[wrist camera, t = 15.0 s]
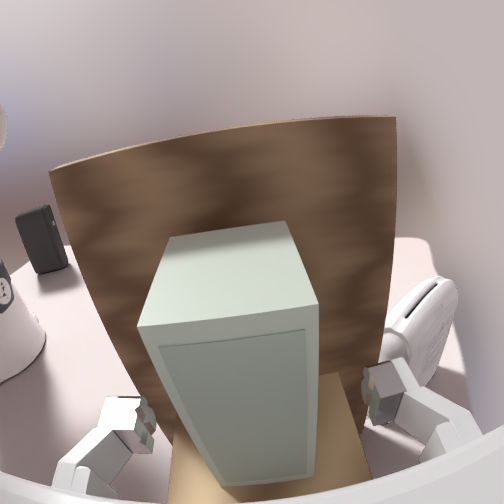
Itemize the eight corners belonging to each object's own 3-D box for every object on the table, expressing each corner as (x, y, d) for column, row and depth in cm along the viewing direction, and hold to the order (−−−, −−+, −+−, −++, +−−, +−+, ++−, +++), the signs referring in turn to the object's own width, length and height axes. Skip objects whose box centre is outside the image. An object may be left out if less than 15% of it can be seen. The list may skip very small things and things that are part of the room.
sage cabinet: (220, 487, 14) (136, 327, 8) (220, 405, 19) (169, 237, 14) (313, 477, 14) (318, 304, 8) (297, 396, 19) (285, 220, 14)
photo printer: (411, 352, 33) (430, 258, 27) (440, 369, 29) (469, 274, 24) (354, 409, 28) (368, 312, 22) (387, 432, 24) (417, 338, 19)
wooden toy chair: (173, 550, 16) (-100, 271, 4) (180, 445, 26) (59, 165, 14) (389, 524, 16) (571, 171, 4) (358, 422, 26) (385, 115, 14)
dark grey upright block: (71, 260, 68) (51, 201, 61) (66, 268, 64) (44, 207, 57) (41, 268, 67) (20, 212, 60) (35, 276, 63) (13, 217, 56)
